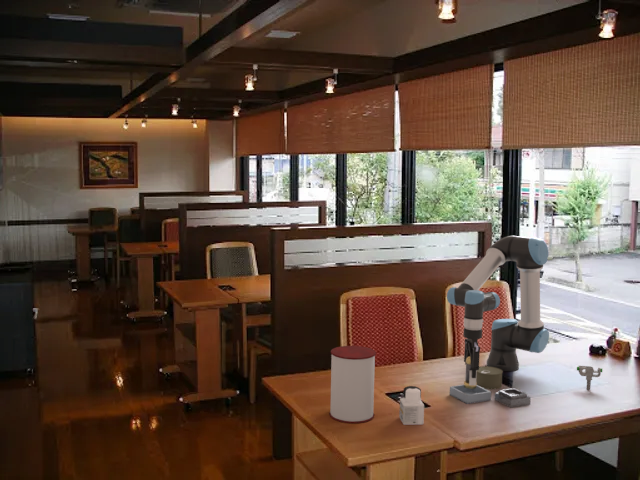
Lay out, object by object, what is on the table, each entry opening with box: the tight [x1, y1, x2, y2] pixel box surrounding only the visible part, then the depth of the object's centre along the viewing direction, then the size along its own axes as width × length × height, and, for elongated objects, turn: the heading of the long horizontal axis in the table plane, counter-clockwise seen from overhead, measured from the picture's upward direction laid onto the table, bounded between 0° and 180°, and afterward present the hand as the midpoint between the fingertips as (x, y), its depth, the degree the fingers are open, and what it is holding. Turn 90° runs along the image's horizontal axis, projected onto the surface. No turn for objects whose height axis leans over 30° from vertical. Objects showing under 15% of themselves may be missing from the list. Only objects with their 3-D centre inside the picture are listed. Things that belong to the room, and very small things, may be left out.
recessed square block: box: [494, 387, 532, 409], centre depth 280 cm, size 10×10×4 cm
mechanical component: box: [576, 365, 603, 391], centre depth 298 cm, size 3×10×10 cm, turn 79°
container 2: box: [398, 385, 425, 426], centre depth 257 cm, size 8×8×13 cm
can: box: [476, 365, 504, 390], centre depth 302 cm, size 12×12×7 cm
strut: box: [463, 356, 477, 389], centre depth 284 cm, size 5×5×13 cm
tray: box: [449, 384, 492, 405], centre depth 285 cm, size 12×12×4 cm
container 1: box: [328, 345, 377, 424], centre depth 262 cm, size 17×17×25 cm
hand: (470, 382), depth 284 cm, fingers closed on strut, 5 cm apart
